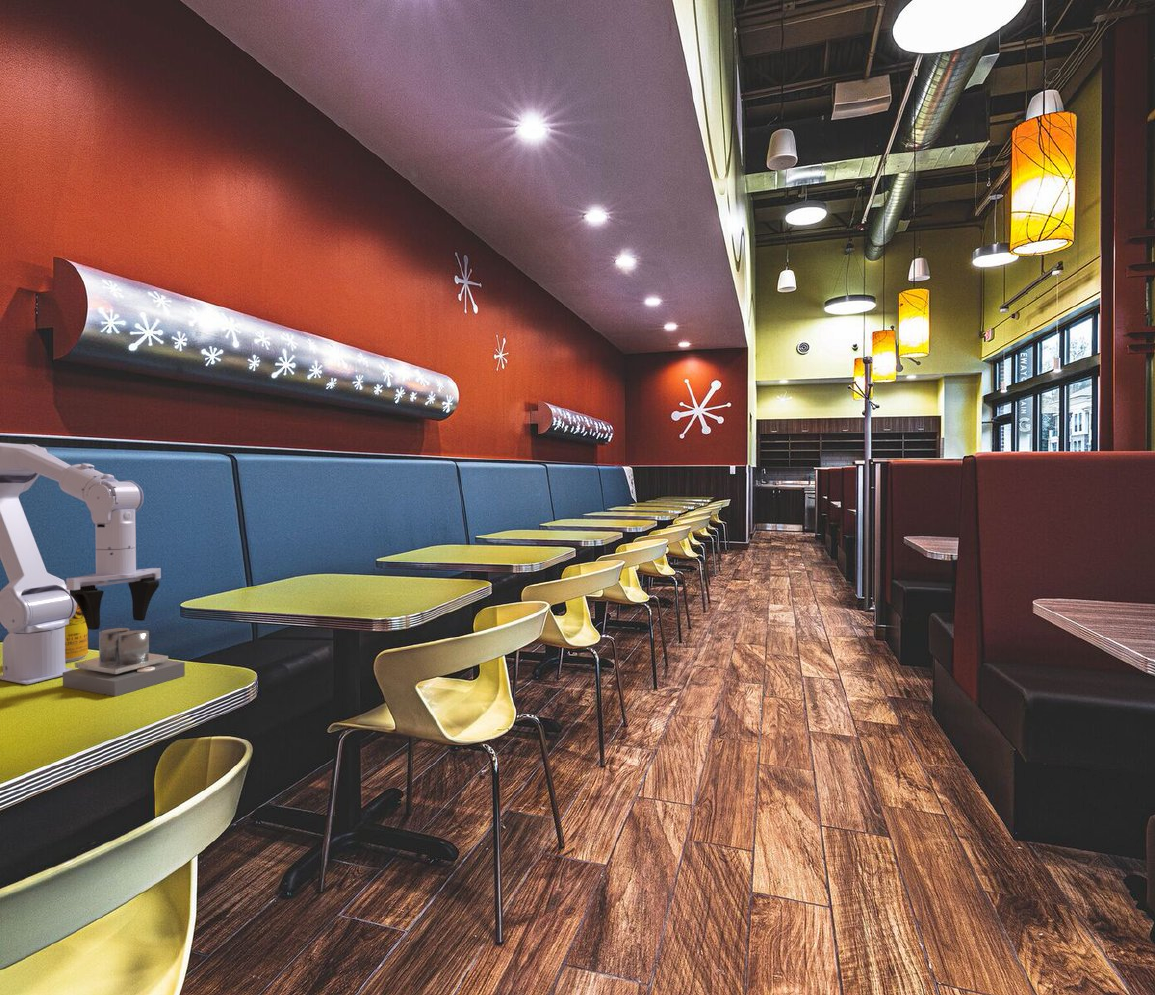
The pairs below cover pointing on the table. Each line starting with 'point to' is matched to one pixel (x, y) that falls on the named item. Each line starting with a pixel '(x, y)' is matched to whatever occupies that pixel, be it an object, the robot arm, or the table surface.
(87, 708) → the table surface
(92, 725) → the table surface
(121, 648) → the cylinder
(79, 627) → the beer can
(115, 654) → the steel weight
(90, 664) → the scale pan
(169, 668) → the scale base
